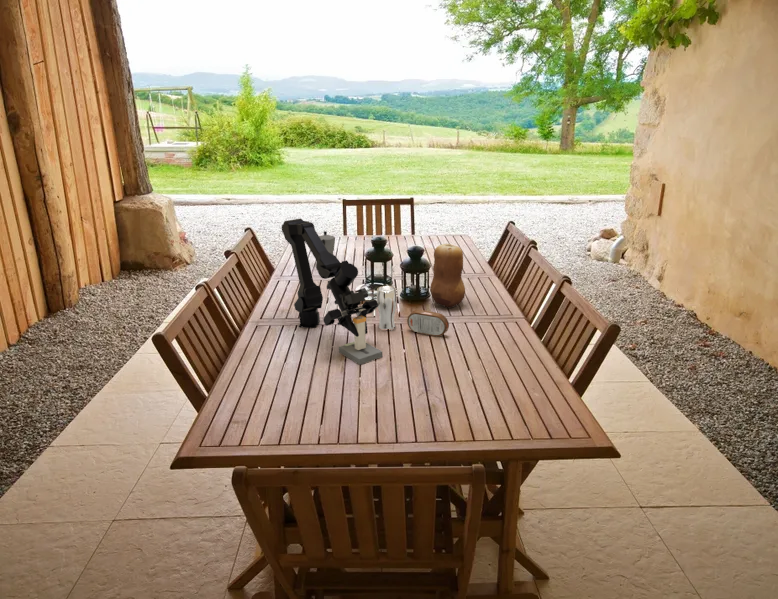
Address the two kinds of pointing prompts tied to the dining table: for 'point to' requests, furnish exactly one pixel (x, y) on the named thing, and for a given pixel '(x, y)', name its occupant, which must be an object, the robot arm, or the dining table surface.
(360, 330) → the lever
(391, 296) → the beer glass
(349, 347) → the switch plate
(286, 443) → the dining table surface
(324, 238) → the coffeepot
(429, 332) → the tin
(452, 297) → the butternut squash
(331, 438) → the dining table surface
